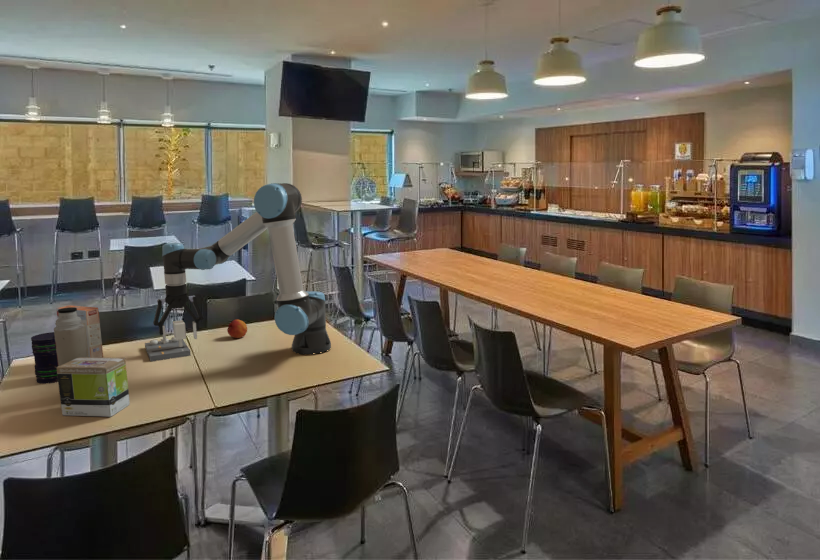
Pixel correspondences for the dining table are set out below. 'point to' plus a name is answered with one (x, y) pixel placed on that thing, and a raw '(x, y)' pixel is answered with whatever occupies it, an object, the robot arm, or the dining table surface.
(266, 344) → the dining table surface
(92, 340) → the cracker box
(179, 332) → the block
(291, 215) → the robot arm
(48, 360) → the black striped canister
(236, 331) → the fruit
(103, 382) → the tea box
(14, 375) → the dining table surface
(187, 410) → the dining table surface
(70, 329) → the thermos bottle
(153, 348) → the console
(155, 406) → the dining table surface
